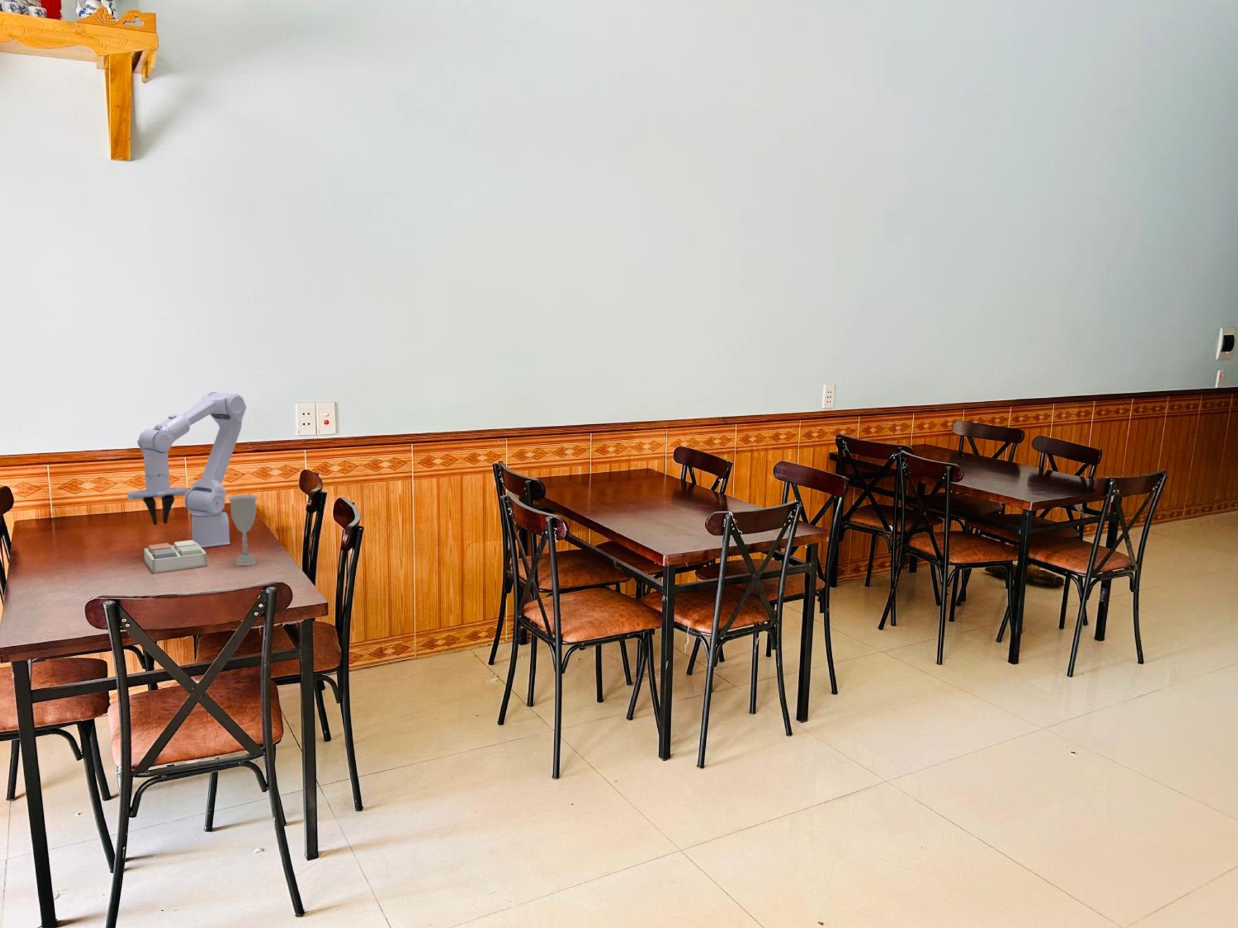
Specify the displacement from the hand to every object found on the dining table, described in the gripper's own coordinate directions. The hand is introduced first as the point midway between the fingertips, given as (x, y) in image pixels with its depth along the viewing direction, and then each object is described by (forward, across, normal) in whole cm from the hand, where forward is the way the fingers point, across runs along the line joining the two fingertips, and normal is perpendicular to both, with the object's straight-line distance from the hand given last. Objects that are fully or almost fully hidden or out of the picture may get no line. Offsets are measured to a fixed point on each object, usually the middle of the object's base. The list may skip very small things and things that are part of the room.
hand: (160, 523), depth 243 cm
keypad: (+9, +2, -8) cm, 13 cm away
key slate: (+7, -1, -11) cm, 13 cm away
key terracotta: (+7, -1, -5) cm, 9 cm away
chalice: (+10, +18, -16) cm, 26 cm away
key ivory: (+7, +5, -5) cm, 10 cm away
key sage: (+7, +5, -11) cm, 14 cm away
